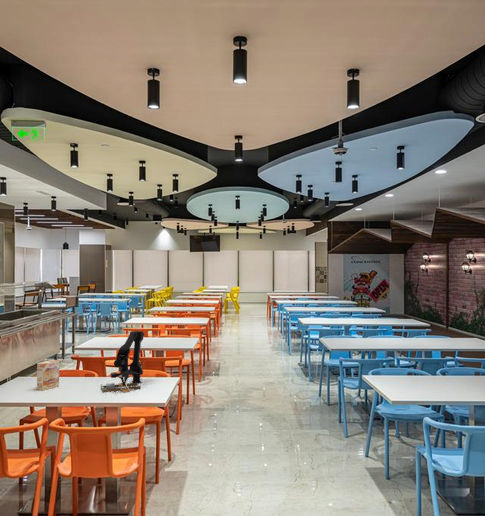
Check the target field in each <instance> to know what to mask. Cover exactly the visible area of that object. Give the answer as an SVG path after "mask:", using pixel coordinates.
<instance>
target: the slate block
mask: <svg viewBox="0 0 485 516" xmlns="http://www.w3.org/2000/svg"><path fill="white" fill-rule="evenodd" d="M105 385H106V388H105V389H111V388H115V385H116V384H115V383H114V382H111V383H106V384H105Z"/></svg>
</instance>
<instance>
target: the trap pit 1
mask: <svg viewBox="0 0 485 516" xmlns="http://www.w3.org/2000/svg"><path fill="white" fill-rule="evenodd" d="M118 384H119V387H118V388H122V387H127V382H126V383H125V386H123V384H122V382H120V383H118Z"/></svg>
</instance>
